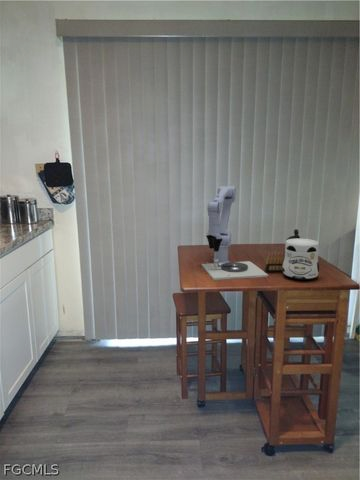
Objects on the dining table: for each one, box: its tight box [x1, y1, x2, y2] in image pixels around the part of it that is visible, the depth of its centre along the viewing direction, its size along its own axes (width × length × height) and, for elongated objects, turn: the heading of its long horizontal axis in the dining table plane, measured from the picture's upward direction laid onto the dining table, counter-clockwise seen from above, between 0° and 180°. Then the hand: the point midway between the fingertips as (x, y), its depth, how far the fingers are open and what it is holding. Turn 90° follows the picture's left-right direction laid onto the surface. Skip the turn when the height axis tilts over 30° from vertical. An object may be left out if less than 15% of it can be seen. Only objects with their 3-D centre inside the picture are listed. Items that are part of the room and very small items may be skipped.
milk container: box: [282, 237, 320, 281], centre depth 184 cm, size 17×17×18 cm
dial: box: [213, 258, 248, 272], centre depth 197 cm, size 18×14×5 cm
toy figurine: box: [284, 228, 301, 245], centre depth 225 cm, size 9×19×25 cm
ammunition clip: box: [263, 251, 285, 273], centre depth 192 cm, size 11×2×12 cm, turn 90°
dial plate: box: [201, 260, 269, 281], centre depth 197 cm, size 26×28×1 cm
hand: (213, 249), depth 199 cm, fingers open, 7 cm apart
